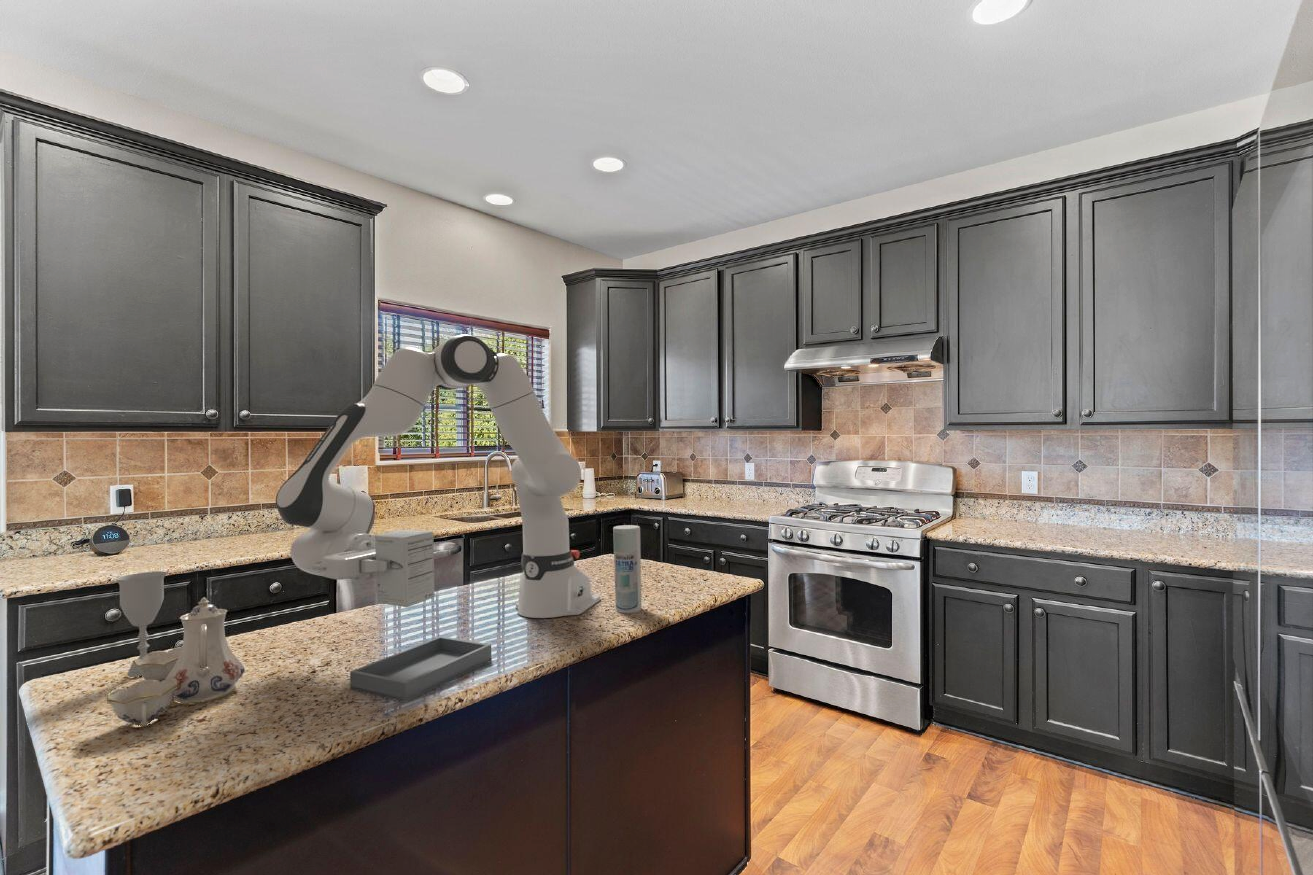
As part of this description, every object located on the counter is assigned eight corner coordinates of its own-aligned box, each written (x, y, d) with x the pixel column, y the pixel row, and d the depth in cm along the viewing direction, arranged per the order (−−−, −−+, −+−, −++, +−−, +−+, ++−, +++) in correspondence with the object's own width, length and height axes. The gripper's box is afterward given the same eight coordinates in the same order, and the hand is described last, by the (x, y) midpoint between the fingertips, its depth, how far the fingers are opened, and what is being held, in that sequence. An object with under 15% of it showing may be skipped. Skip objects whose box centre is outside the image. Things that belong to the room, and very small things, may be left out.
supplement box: (375, 604, 111) (372, 535, 110) (406, 593, 117) (404, 528, 117) (406, 608, 108) (403, 537, 108) (436, 597, 115) (434, 530, 114)
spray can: (611, 612, 145) (609, 528, 145) (619, 605, 152) (617, 524, 152) (638, 613, 144) (635, 528, 144) (645, 606, 150) (643, 525, 150)
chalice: (166, 662, 118) (164, 569, 118) (171, 671, 113) (169, 574, 113) (116, 673, 113) (114, 576, 113) (118, 683, 108) (116, 581, 108)
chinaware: (131, 692, 108) (117, 601, 107) (244, 661, 118) (231, 577, 117) (108, 756, 86) (89, 641, 85) (249, 711, 95) (234, 607, 94)
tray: (440, 651, 121) (440, 636, 121) (491, 660, 115) (491, 644, 115) (350, 689, 103) (350, 671, 103) (405, 702, 97) (405, 683, 97)
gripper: (305, 549, 109) (357, 554, 103) (399, 532, 127) (449, 535, 121) (306, 584, 109) (358, 591, 103) (400, 562, 127) (449, 567, 121)
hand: (408, 561), depth 112 cm, fingers closed on supplement box, 7 cm apart
